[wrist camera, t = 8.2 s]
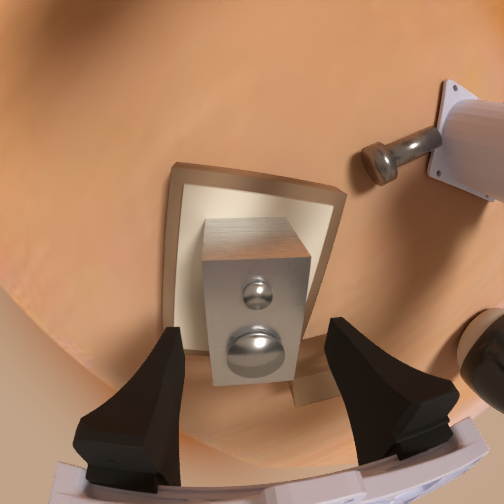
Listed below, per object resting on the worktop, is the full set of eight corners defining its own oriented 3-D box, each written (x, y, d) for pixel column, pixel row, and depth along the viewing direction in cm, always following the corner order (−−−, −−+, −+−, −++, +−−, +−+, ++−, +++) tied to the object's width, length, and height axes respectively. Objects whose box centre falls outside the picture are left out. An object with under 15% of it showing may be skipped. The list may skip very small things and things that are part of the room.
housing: (285, 216, 16) (315, 262, 12) (277, 324, 20) (295, 386, 15) (205, 218, 16) (201, 266, 11) (211, 328, 19) (213, 393, 14)
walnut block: (328, 332, 24) (343, 366, 20) (327, 363, 26) (341, 395, 22) (282, 343, 24) (292, 379, 20) (286, 373, 26) (295, 407, 22)
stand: (334, 186, 18) (349, 196, 16) (289, 342, 24) (295, 362, 22) (176, 162, 17) (170, 168, 15) (165, 333, 22) (162, 354, 20)
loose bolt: (422, 119, 17) (444, 118, 14) (433, 153, 18) (455, 155, 15) (357, 147, 18) (374, 148, 15) (371, 183, 18) (389, 188, 16)
